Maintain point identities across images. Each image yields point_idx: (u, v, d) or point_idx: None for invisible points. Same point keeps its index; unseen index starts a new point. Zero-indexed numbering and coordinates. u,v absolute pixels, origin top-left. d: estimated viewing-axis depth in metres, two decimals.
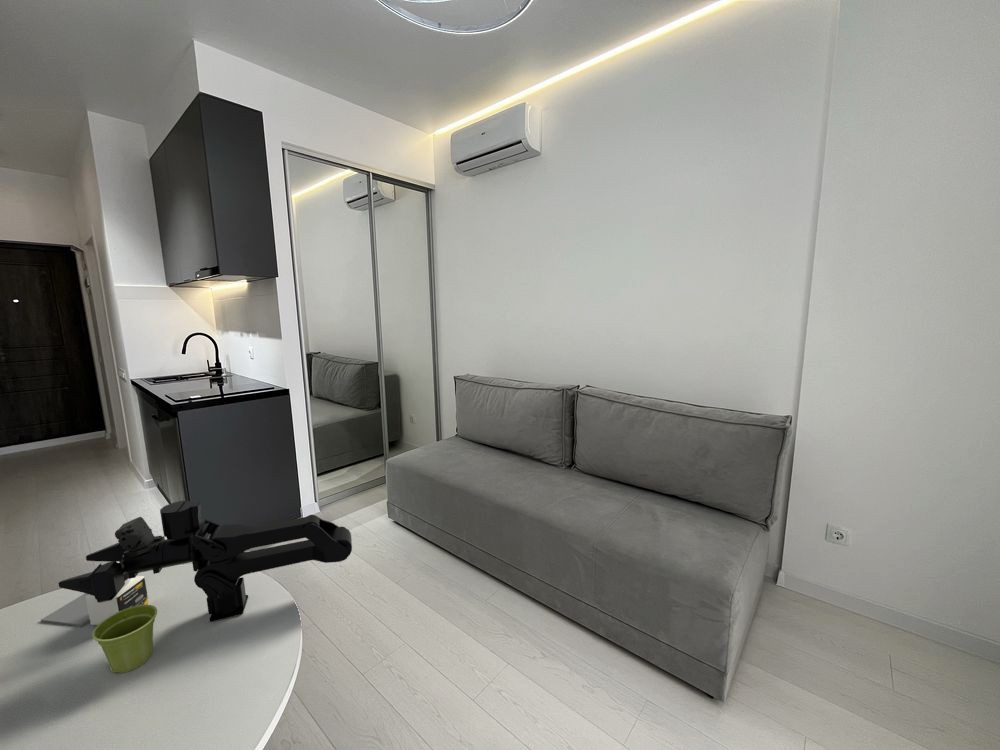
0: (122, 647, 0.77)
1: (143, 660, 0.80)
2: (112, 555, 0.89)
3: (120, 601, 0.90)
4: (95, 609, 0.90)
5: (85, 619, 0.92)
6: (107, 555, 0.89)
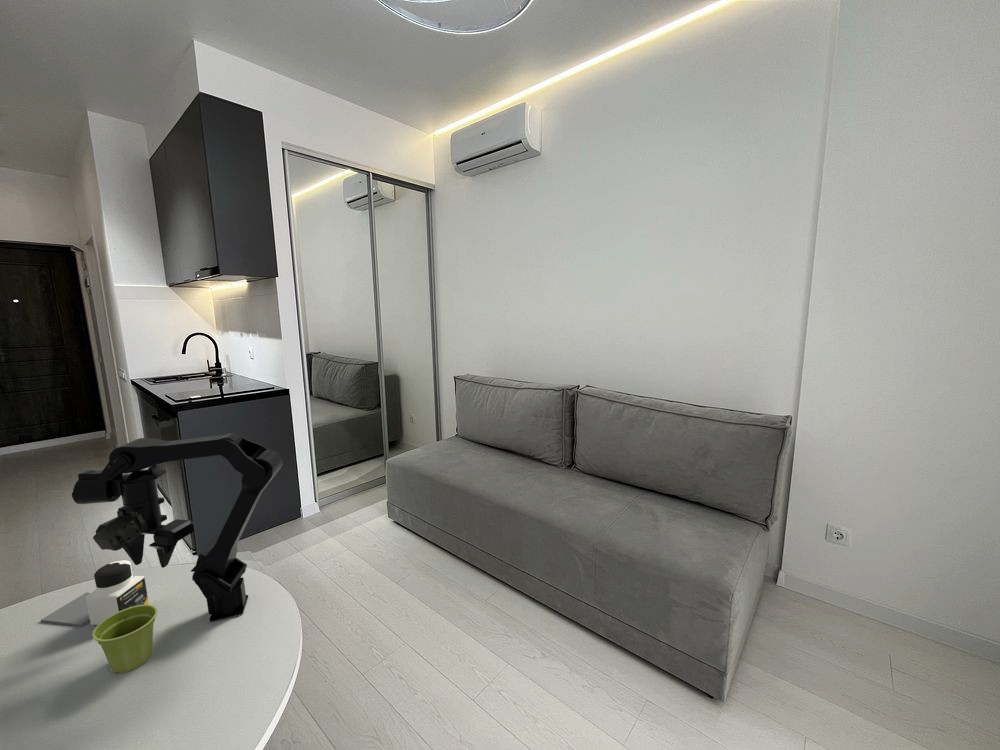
0: (122, 647, 0.77)
1: (143, 660, 0.80)
2: (137, 544, 0.91)
3: (120, 601, 0.90)
4: (95, 609, 0.90)
5: (85, 619, 0.92)
6: (137, 548, 0.90)
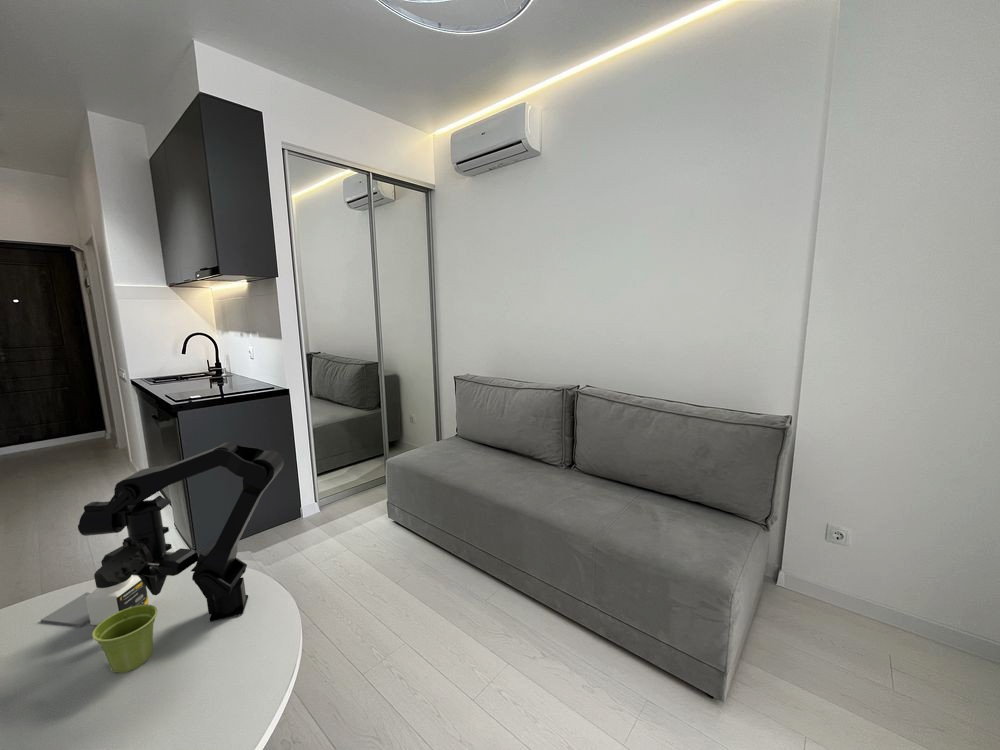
0: (122, 647, 0.77)
1: (143, 660, 0.80)
2: None
3: (120, 601, 0.90)
4: (95, 609, 0.90)
5: (85, 619, 0.92)
6: None
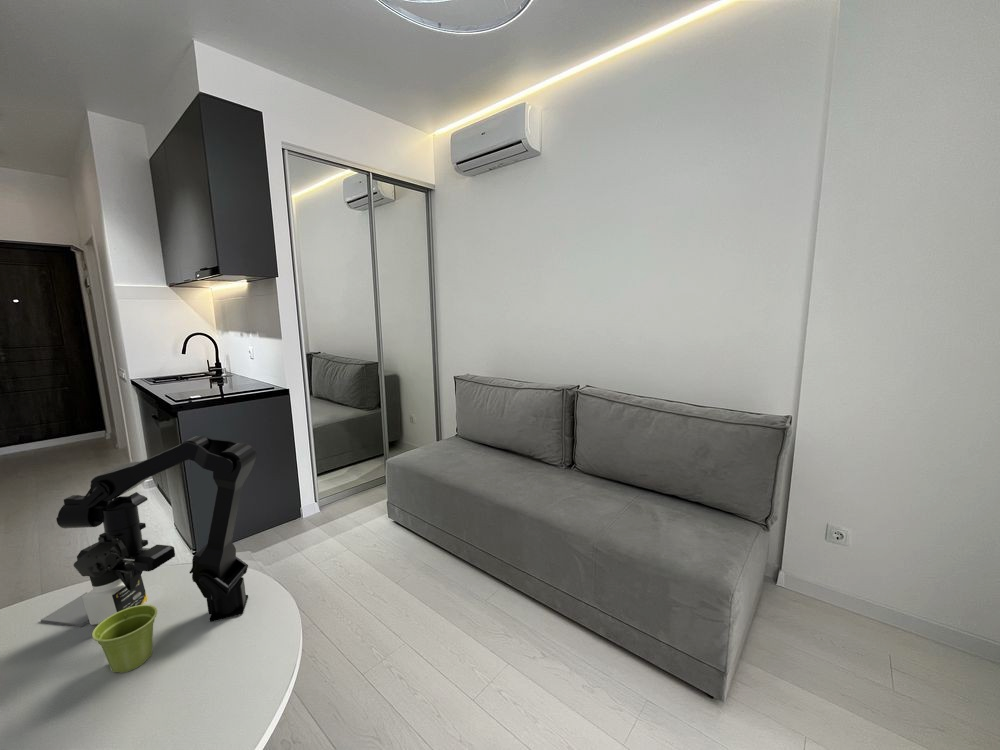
0: (122, 647, 0.77)
1: (143, 660, 0.80)
2: None
3: (116, 598, 0.90)
4: (93, 608, 0.90)
5: (85, 619, 0.92)
6: None
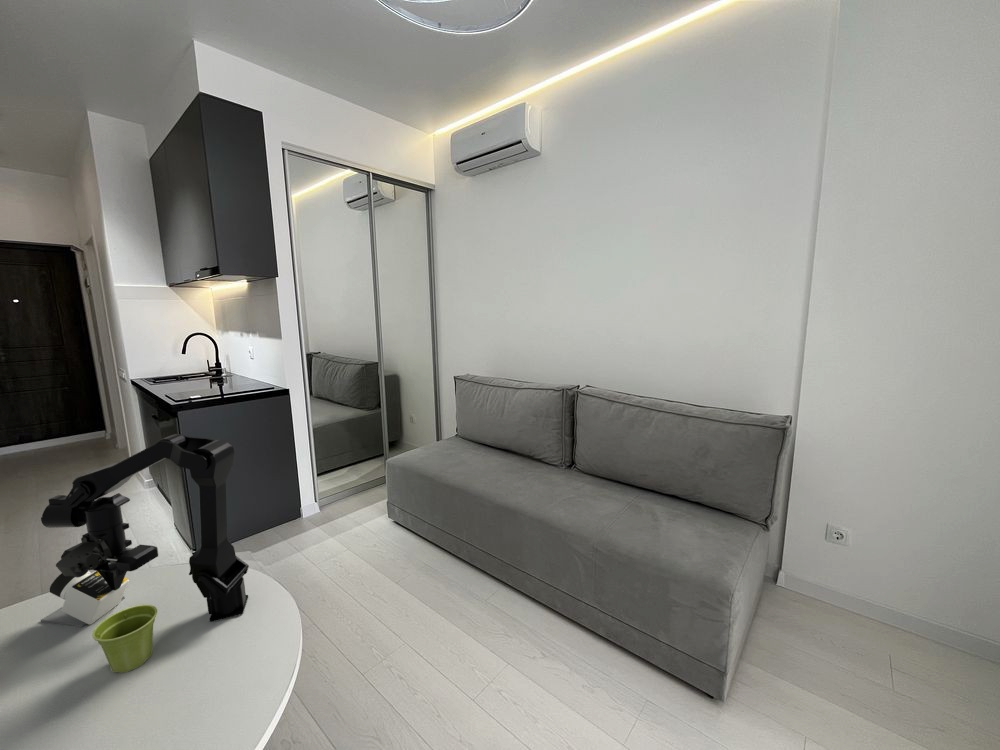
0: (122, 647, 0.77)
1: (143, 660, 0.80)
2: None
3: (80, 587, 0.90)
4: (75, 610, 0.90)
5: None
6: None
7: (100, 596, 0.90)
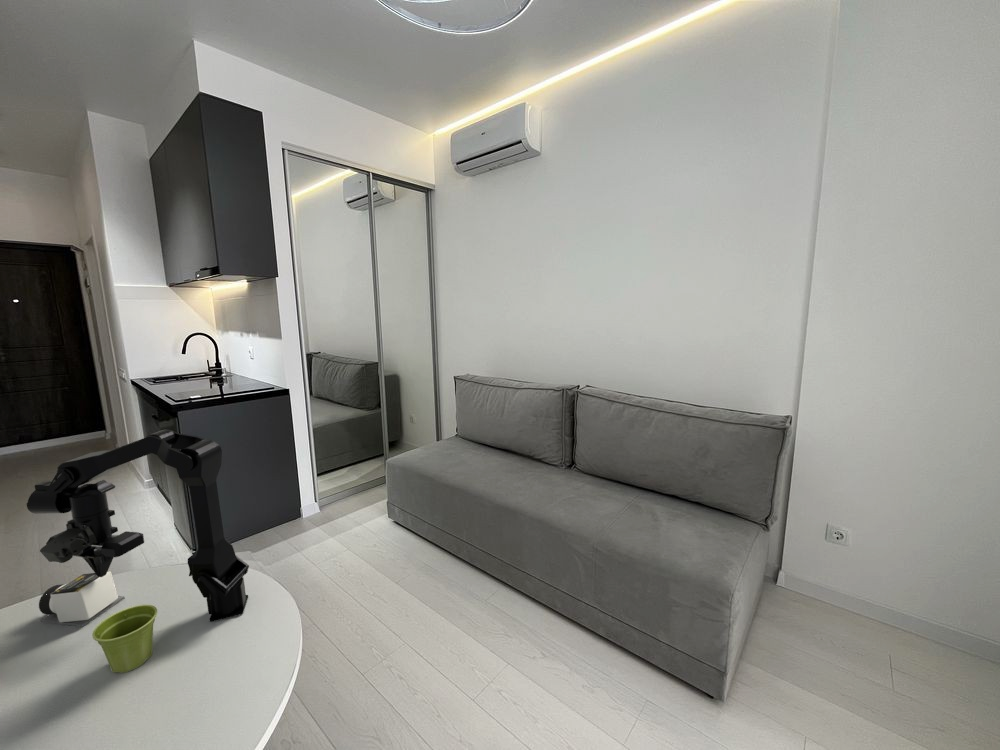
0: (122, 647, 0.77)
1: (143, 660, 0.80)
2: None
3: (58, 591, 0.90)
4: (69, 614, 0.90)
5: None
6: None
7: (79, 588, 0.90)
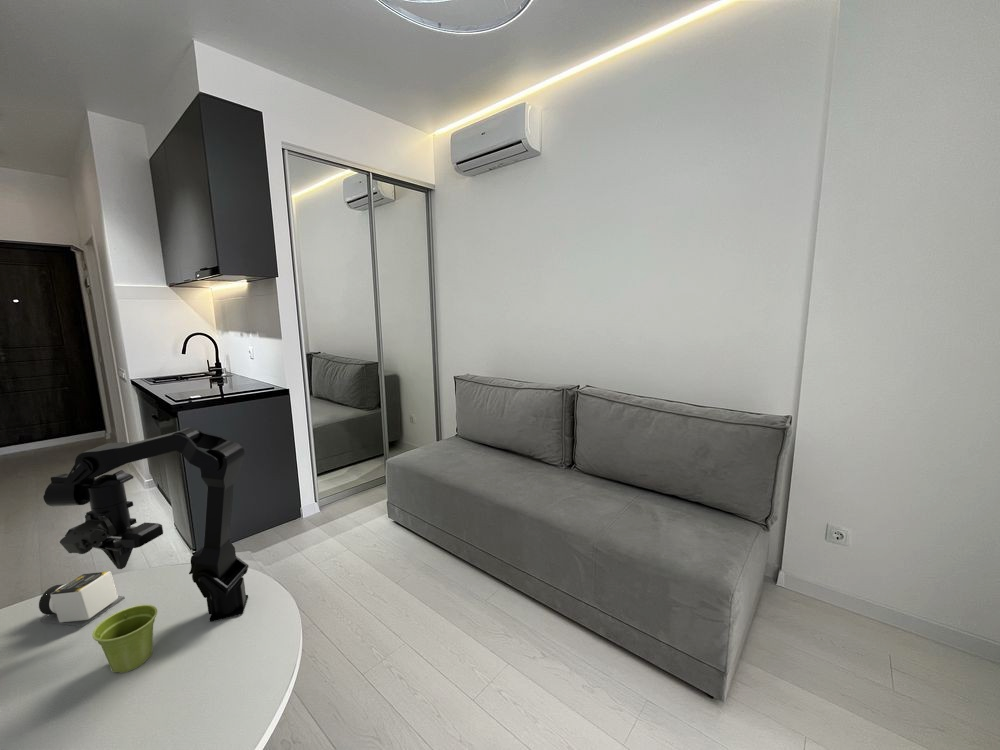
0: (122, 647, 0.77)
1: (143, 660, 0.80)
2: None
3: (58, 591, 0.90)
4: (69, 614, 0.90)
5: None
6: None
7: (79, 588, 0.90)
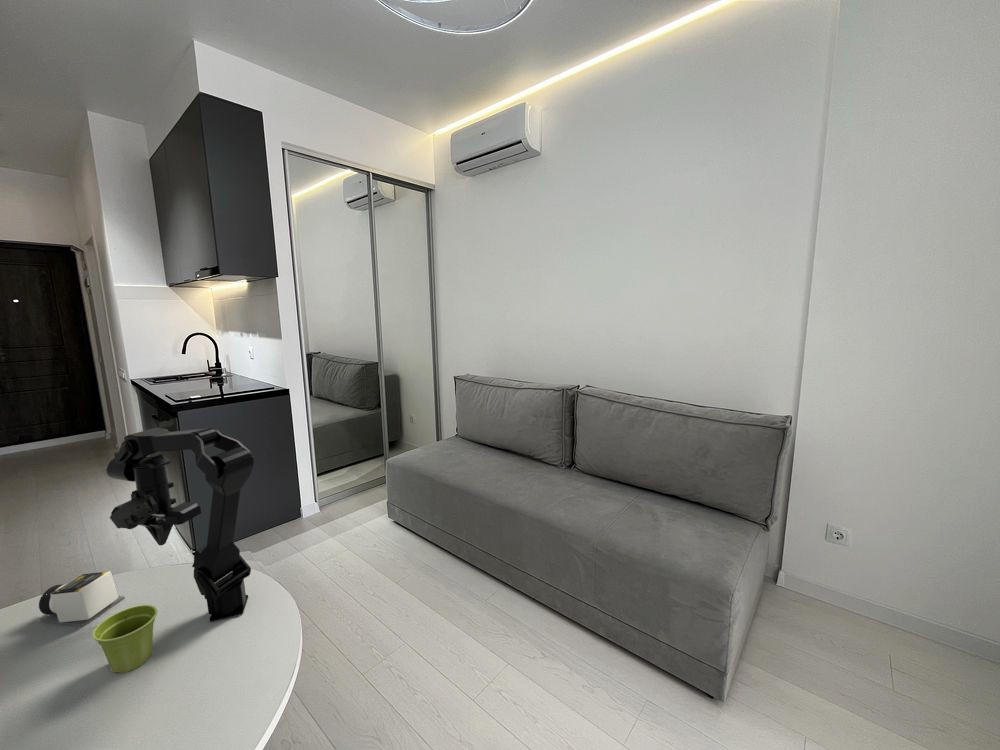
0: (122, 647, 0.77)
1: (143, 660, 0.80)
2: None
3: (58, 591, 0.90)
4: (69, 614, 0.90)
5: None
6: None
7: (79, 588, 0.90)
